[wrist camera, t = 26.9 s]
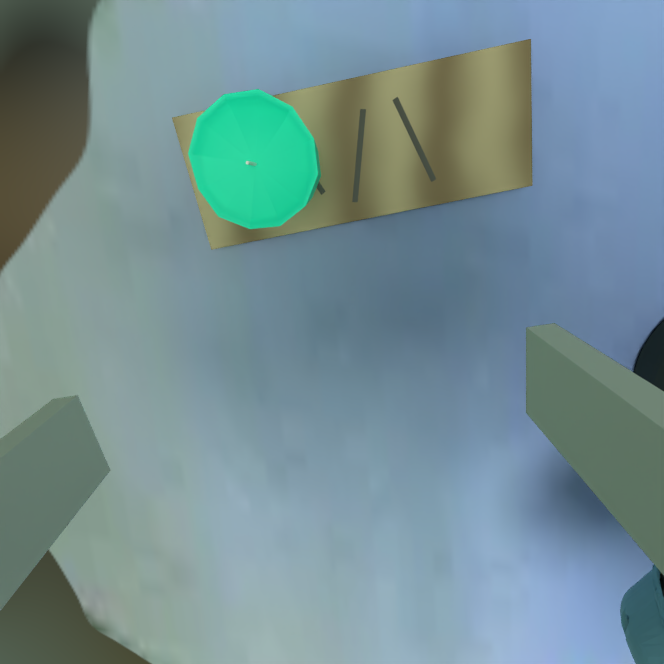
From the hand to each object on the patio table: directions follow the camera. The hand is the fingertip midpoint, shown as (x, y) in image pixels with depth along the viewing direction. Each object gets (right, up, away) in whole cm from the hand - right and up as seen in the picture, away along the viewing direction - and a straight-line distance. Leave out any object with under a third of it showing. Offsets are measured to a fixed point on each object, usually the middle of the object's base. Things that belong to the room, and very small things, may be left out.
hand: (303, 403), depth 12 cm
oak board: (+3, +15, +18) cm, 23 cm away
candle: (-3, +14, +17) cm, 22 cm away
